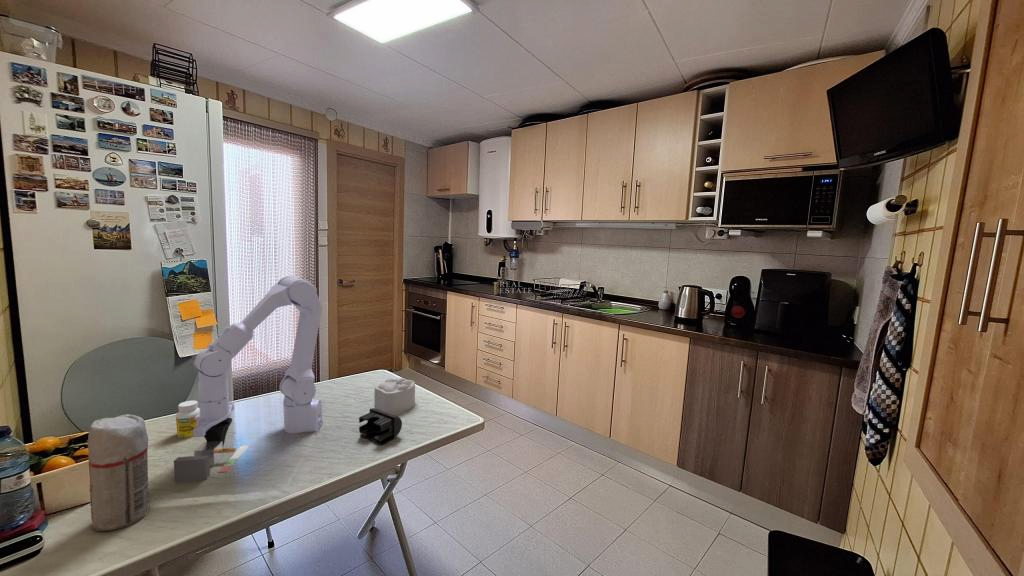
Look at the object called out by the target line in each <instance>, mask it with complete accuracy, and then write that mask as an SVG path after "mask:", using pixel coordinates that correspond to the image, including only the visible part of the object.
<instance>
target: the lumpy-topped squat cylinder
mask: <svg viewBox="0 0 1024 576" xmlns="http://www.w3.org/2000/svg"><path fill="white" fill-rule="evenodd" d="M415 400H416V382H415V381H414V380H412V379H409V378H408V379H406V378H404V377H400V378H398V379H397V378H395V379H394V378H392V377H389V378H387V379H385V381H384V382H381V383H379V384H377V385H375V386H374V408H375V409H378V410H380V411H383V412H386V413H389V414H391V415H397V414H399V413H403V412H405V411H408V410H410V409H412V408H413V407H414V406H415V403H416V401H415Z"/></svg>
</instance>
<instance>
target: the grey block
mask: <svg viewBox="0 0 1024 576" xmlns="http://www.w3.org/2000/svg"><path fill="white" fill-rule="evenodd" d="M236 451H237V448H236V447H229V448H224V446H223V441H213V442H207V441H203V442H202V443H201V444H200V445H199V446H198V447H196V448H195V450H194V451H193V454H194V456H205V455H209V466H210V467H212V466H216V465H217V464H218V462H219V461H221V459H222V458H223V457H224V453H225V454H226V453H235V452H236Z"/></svg>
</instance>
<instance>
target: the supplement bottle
mask: <svg viewBox="0 0 1024 576" xmlns="http://www.w3.org/2000/svg"><path fill="white" fill-rule="evenodd" d="M198 403H199V401H197V400H186V401H183V402H180V403H179V404H178V412H177V413H176V415H175V421H176V422H175V423H176V433H177V438H180V439H187V438H188V439H189V438H192V437H193V438H194V435H193V429H194V428H195V427H196V425H197V423H198V420H195V417H196V416H197V415H198V414H200V407H198V406H199V404H198Z"/></svg>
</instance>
